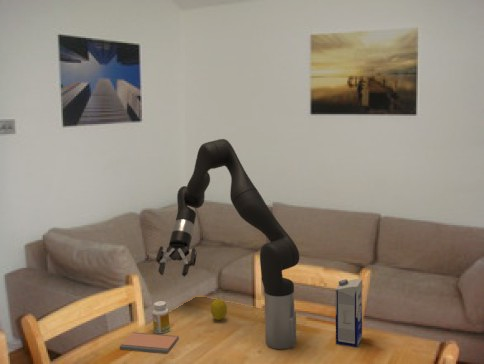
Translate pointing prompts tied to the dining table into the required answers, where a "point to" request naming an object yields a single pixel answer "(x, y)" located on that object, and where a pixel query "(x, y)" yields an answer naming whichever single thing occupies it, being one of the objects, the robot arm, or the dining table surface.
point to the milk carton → (349, 312)
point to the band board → (149, 342)
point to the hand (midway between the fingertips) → (172, 274)
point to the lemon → (218, 309)
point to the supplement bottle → (160, 317)
